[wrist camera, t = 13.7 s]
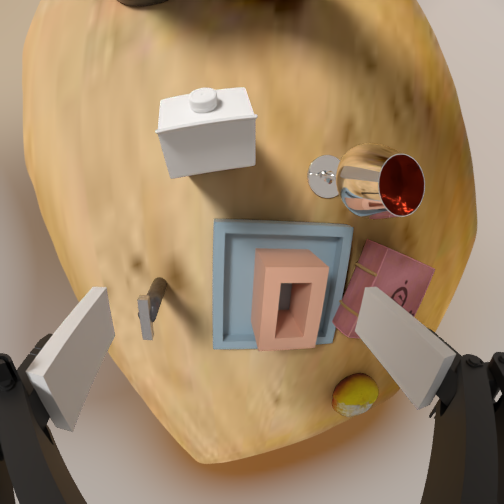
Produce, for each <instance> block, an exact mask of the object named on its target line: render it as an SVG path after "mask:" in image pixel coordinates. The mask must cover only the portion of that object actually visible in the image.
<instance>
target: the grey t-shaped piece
mask: <svg viewBox="0 0 504 504" xmlns="http://www.w3.org/2000/svg"><path fill="white" fill-rule="evenodd" d="M166 287H167V283H166V281H165V280H164V279H163V278H156V279H155V280H154V281H153V283H152V285H151V287H150V289H149V291H148V293H147V295H140V296H139V298H138V300H137V301H138V309H139V313H138V316H139V318H140V323H141V330H142V336H143V340H153V337H154V330H153V322H154V321H155V319H156V316H157V313H158V310H159V307H160V304H161V301H162V299H163V296H164V293H165V290H166Z"/></svg>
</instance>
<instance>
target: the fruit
mask: <svg viewBox="0 0 504 504" xmlns="http://www.w3.org/2000/svg"><path fill="white" fill-rule="evenodd" d="M378 393H379V391H378V386H377V384H376V382H375V381H374V380H373V379H372V378H371V377H370V376H368V375H365V374H364V373H358V374H353V375H350V376H349V377H346V378H345V379H344V380H342V381H341V382H340V383H339V384H338V385H337V386H336V388H335V390H334V393H333V400H332V406H333V409H334V410H335V411H336V412H338V413H340V414H341V415H342V416H347V417H351V416H354V415H359V414H362V413H363V412H366V411H367V410H368V409H370V408H371V406H372V404H373V403H374V402H375V400H376V399H377V397H378Z"/></svg>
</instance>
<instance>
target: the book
mask: <svg viewBox="0 0 504 504" xmlns="http://www.w3.org/2000/svg"><path fill="white" fill-rule="evenodd" d="M355 265H356V268H355V271H354V273H353V276H352V278H351V280H350V283H349V285H348V287H347V290H346V292H345V294H344V296H343V299H342V300H339V302H340V305H339V308H338V310H337V312H336V314H335V316H334V318H333V320H332V322H333V324H334V325H335V327H336V328H337V329H338V330H339V331H340V332H342V333H343V334H344V335H346V336H347V337H350V338H360V337H359V336H358V335H357V333H356V332H355V328H356V324H357V320H358V316H359V312H360V308H361V304H362V299H363V295H364V290H365V287H378V288H379V289H380V290H381V291H383V292H384V293H385V294H386V295H388V296H389V297H390V298H391V299H393V300H394V301H395V302H396V303H397V304H399V305H400V306H401V307H402V308H404V309H405V310H406V311H407V312H408V313H410V314H411V315H412V316H413V317H414V316H415V314H416V312H417V310H418V308H419V306H420V304H421V302H422V299H423V297H424V295H425V293H426V290H427V288H428V286H429V283H430V281H431V278H432V276H433V274H434V271H435V269H434V268H432V267H430V266H428V265H426V264H423V263H421V262H419V261H417V260H415V259H413V258H410V257H408V256H406V255H404V254H401V253H399V252H397V251H395V250H392V249H390V248H388V247H385V246H383V245H381V244H378V243H376V242H374V241H371V240H369V239H367V240H366V243H365V246H364V248H363V251H362V253H361V256H360V258H359V261H358V263H357V262H356V263H355Z"/></svg>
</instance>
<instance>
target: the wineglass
mask: <svg viewBox="0 0 504 504" xmlns="http://www.w3.org/2000/svg"><path fill="white" fill-rule="evenodd" d="M307 179H308V183H309V186H310V188H311V189H312V191H313V192H314V193H315V194H317V195H318V196H320V197H323V198H332V197H335V196H337V195H339V197H340V199H341V200H342V202H343V204H344V205H345V206H346V207H347V208H348V209H349V210H350V211H351V212H352V213H354V214H356V215H357V216H360V217H362V218H366V219H373V220H378V219H390V218H398V217H404V216H408V215H410V214H412V213H413V212H415V211H416V210H417V208H418V207H419V206H420V204H421V202H422V199H423V196H424V192H425V180H424V175H423V172H422V169H421V167H420V165H419V164H418V163H417V161H416V160H415V159H414V158H412V157H411V156H409V155H407V154H405V153H402V152H400V151H398V150H395V149H393V148H390V147H388V146H385V145H381V144H377V143H363V144H359V145H357V146H354V147H353V148H351V149H350V150H348V151H347V152H346V153H345V154H344V156H343V157H342V159H341V160H339V159H338V158H336V157H334V156H331V155H323V156H320V157H318V158H316V159H315V160H314V161H313V162H312V163H311V164H310V166H309V169H308V173H307Z"/></svg>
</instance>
